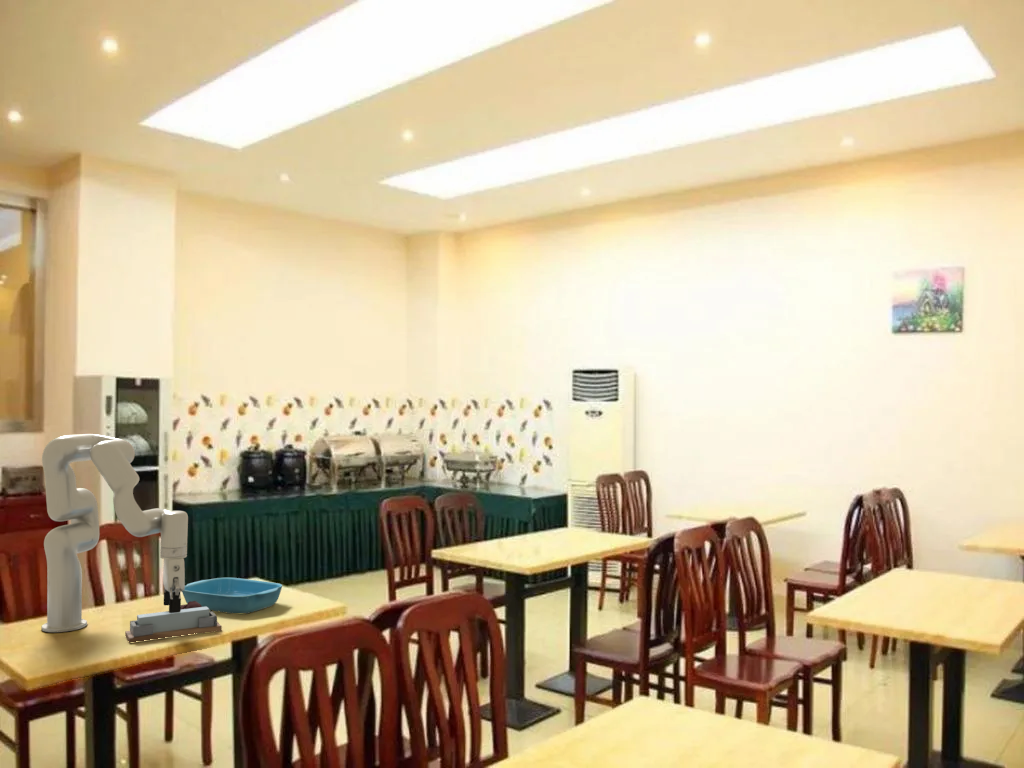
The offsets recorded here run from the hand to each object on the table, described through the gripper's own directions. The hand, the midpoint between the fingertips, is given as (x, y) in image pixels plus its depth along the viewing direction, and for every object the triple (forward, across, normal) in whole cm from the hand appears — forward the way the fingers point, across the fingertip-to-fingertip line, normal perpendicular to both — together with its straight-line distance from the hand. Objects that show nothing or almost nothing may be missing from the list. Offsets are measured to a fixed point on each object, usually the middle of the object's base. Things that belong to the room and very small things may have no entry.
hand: (171, 608), depth 259 cm
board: (+7, -1, -1) cm, 8 cm away
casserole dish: (+8, +26, -24) cm, 36 cm away
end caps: (+6, -1, -1) cm, 6 cm away
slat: (+6, -1, -1) cm, 6 cm away
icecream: (+8, +10, -8) cm, 15 cm away
